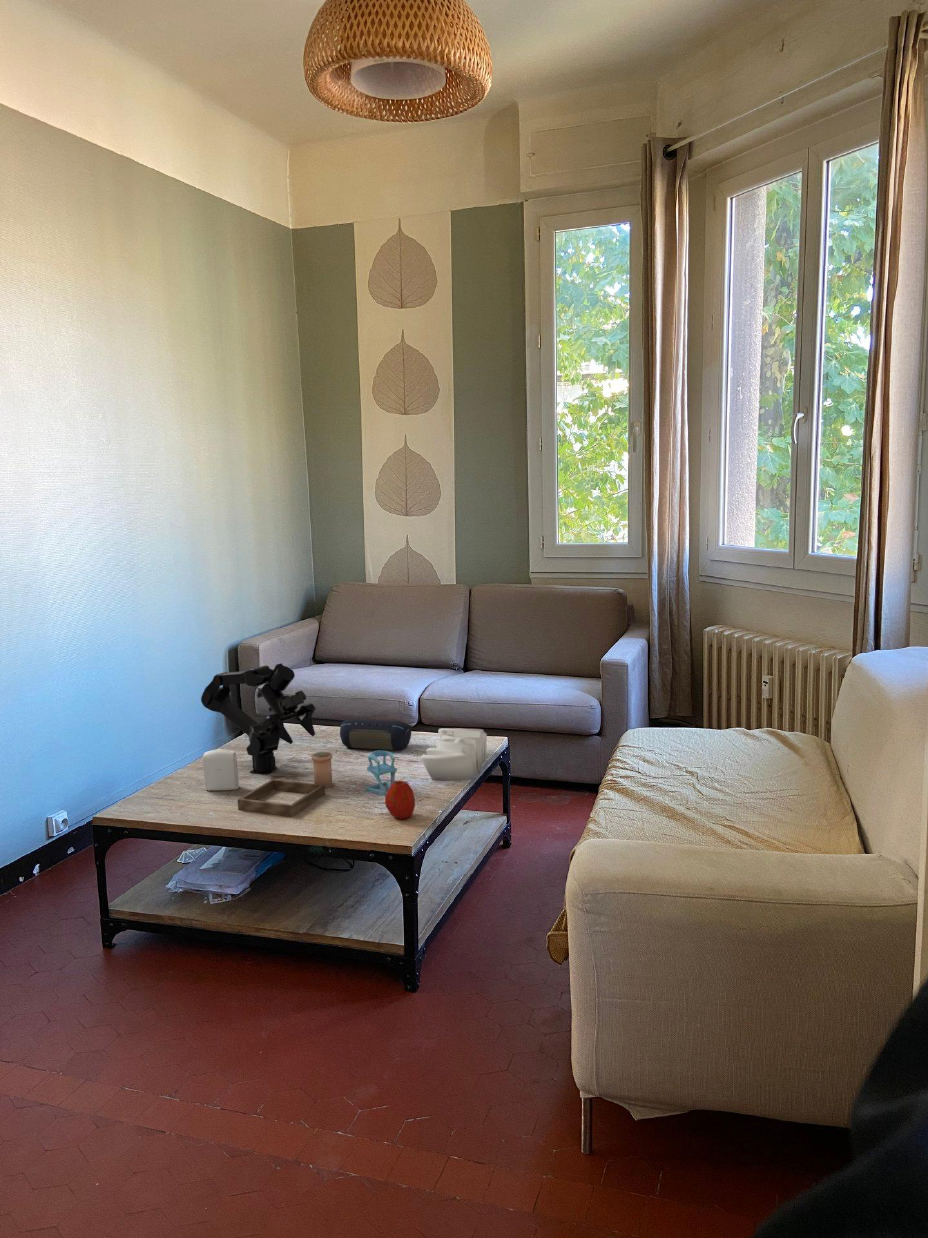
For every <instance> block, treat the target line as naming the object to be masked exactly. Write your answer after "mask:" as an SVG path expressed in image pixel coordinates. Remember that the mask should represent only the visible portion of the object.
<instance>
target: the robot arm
mask: <svg viewBox="0 0 928 1238" xmlns="http://www.w3.org/2000/svg"><path fill="white" fill-rule="evenodd" d="M294 679H295V672H294V670H293V669H291V668H290V667H288V666H287V665H286V666H285V665H283V663H278V664H275V666H274V668H273V669H272V668H270V666H269V665H262V666H258V667H254V668H250V669H248V670H242V671H232V672H231V671H230V672H228V671H224V672H220V673H217V674H215V675H214V676H213V678H212V680H211V681H210V683H209V684H207V686H206V687H205V688H204V689H203V692H202V695H201V697H200V702H201V703H202V705H203V707H204V708H206V709H208V710H209V711H210V712H211V711H212V712H214V713H219V714H221V715H223V716H224V717H225V718H227V719H228V720H229V721H230V722H231V723H232V724H234V725H235V726H236V727H237V728H239V729H240V730H241V731H242V733H244V734H246V735H247V736H248V741H249V743H248V746H247V747H246V748H245V749H246V751H247V755H248V756H251V760H252V769H251V770H250V772H249V773H251V774H260V775H268V774H270V773H272V772H274V771H275V770H277V769H278V766H276V765H277V763H276V757H275V751H278V747H279V744H280V739H281V740H283V741H285V742H286V743H288V744H290V745H292V744H293V743H294V741H293V739H292V737H291V735H290V734H289V732H288V731H287V729H286V727H285V723H284V722H288V721H291V720H294V719H296V720H297V721H298V723H299V725H300V726H301V727H302V728H303V729H304V730H305V731H306V732H307V733H308V734H309V735H310V736H312V737H315V736H316V732H315V728H314V725H313V724H314V723H313V719H312V717H313V715H314V713H315V711H316V710H317V708H316V707H315V705H314V704H313V703H310V702H309V703H307V704H305V701H306V700H307V696H306V694H305V692H304V691H303V690H298V691H297V692H294V695H293V694H292V695H285V694H284V693H283V692H284V691H285V690H286V689H287V688H288V687H289V685H290V684H291V682H292V681H293V680H294ZM243 684H244V685H246V686H247V687H248V686H249V687H252V688H255V687H259V686H260V688H258V689H257V694H256V697H257V698H258V699H260V698H263V699H264V700H265V702H266V703H267V705H268V706H269V707H268V711H269V712H270V713H271V712H273V714H270V715H267V716H266V717H265V718H264V720H262V723H261V724H260V723H259V722H257V721H256V720H255V719H253V717H251V716H250V715H248V714H247V712H245V711H243V710H242V709H241V708H240V707H238V706H237V705H236V704H235V703H234V702H233V701H232V698H231V695H230V694H231V691H232V688H231V687H232V686H231V685H243ZM261 686H262V687H261ZM301 704H302V705H301ZM299 705H301V706H300V707H299Z"/></svg>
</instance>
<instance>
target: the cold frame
mask: <svg viewBox="0 0 928 1238" xmlns="http://www.w3.org/2000/svg"><path fill="white" fill-rule="evenodd" d="M273 791H283V792H289V793H298V794H305V795H303V796H302V797H301V798H299V799H298V800H296V801H295V802H293V803H291V804H288V803H281V802H272V801H264V800H260V799H261V797H262V798H263V797H265V796H266V795H268V794H270V793H271V792H273ZM325 795H326V789H325V785H322V784H314V782H312V783H311V782H303V781H294V780H286V779H285V780H284V779H278V778H275V779H274V778H271V779H270V780H269V781H268V780H267V782H264V783H263V784H262V785H260V786H258V787H257V788H255V789H253V790H251V791H249V792H248V793H246V794H244V795H242V796H241V797H239V798H237V809H238V811H239V810H240V811H248V812H255V813H262V814H263V813H264V814H269V815H270V814H271V815H278V816H286V817H294V816H296V815H297V814H299V813H300V812H302V811H304V810H305V809H306V808H308V807H309V806H311V805H312V804H314V803H315V802H316V801H318V800H320V799H321V798H322V797H324V796H325Z"/></svg>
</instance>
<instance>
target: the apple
mask: <svg viewBox="0 0 928 1238" xmlns="http://www.w3.org/2000/svg"><path fill="white" fill-rule="evenodd" d="M386 791H387V793H386V796H385V795H384V796H385V797H384V804H385V807H386V809H387V811H388V812H389V814H390V815H391V816H392V817H393V818H395V819H399V820H400V819H401V820H403V819H407V818H410V817H411V816H412V814H413V813H414V810H415V806H416V799H415V794H414V791H413V788H412V787H411V786H410V785H409V783H407V782H406V781H404V780H394V782H393V784H392V785H391V784H390V788H389V789H388V788H387V790H386Z"/></svg>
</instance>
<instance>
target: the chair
mask: <svg viewBox="0 0 928 1238" xmlns="http://www.w3.org/2000/svg"><path fill="white" fill-rule="evenodd" d="M387 756H389V758H390V760H392V761H391V763H390V764H388V763H387V761H386V757H387ZM379 757H382V763H381V761H380V760H379V759H378V758H379ZM367 759H368V762H369V766H368V767H367V768H366V771H368V772H369V773H371V774H372V775H373V776H374V777H375V780H376V781H377V783H375V784H372V785H368V786H365V787H364V791H366V792H371V793H374V794H378V795H382V796H386V793H387V791H388V789H389V788H390V786H391V785H392V784H393V782H395V781H396V780H395V777H396V772H397V771H398V768H397V767H395V765H394V764H395V760H396V757H395V756H394V754H393V753H392V752H391V751H387V750H383V749H376V750H374V751H372V752H371V753H370V754H368V755H367ZM372 761H374V762H375V763H376V764H377V765H374V766H373V762H372ZM387 774H390V782H388V781H384V782H383V781H382V780H381V778H380V776H383V775H387ZM385 787H387V790H386V788H385ZM377 788H381V789H377Z"/></svg>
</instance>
